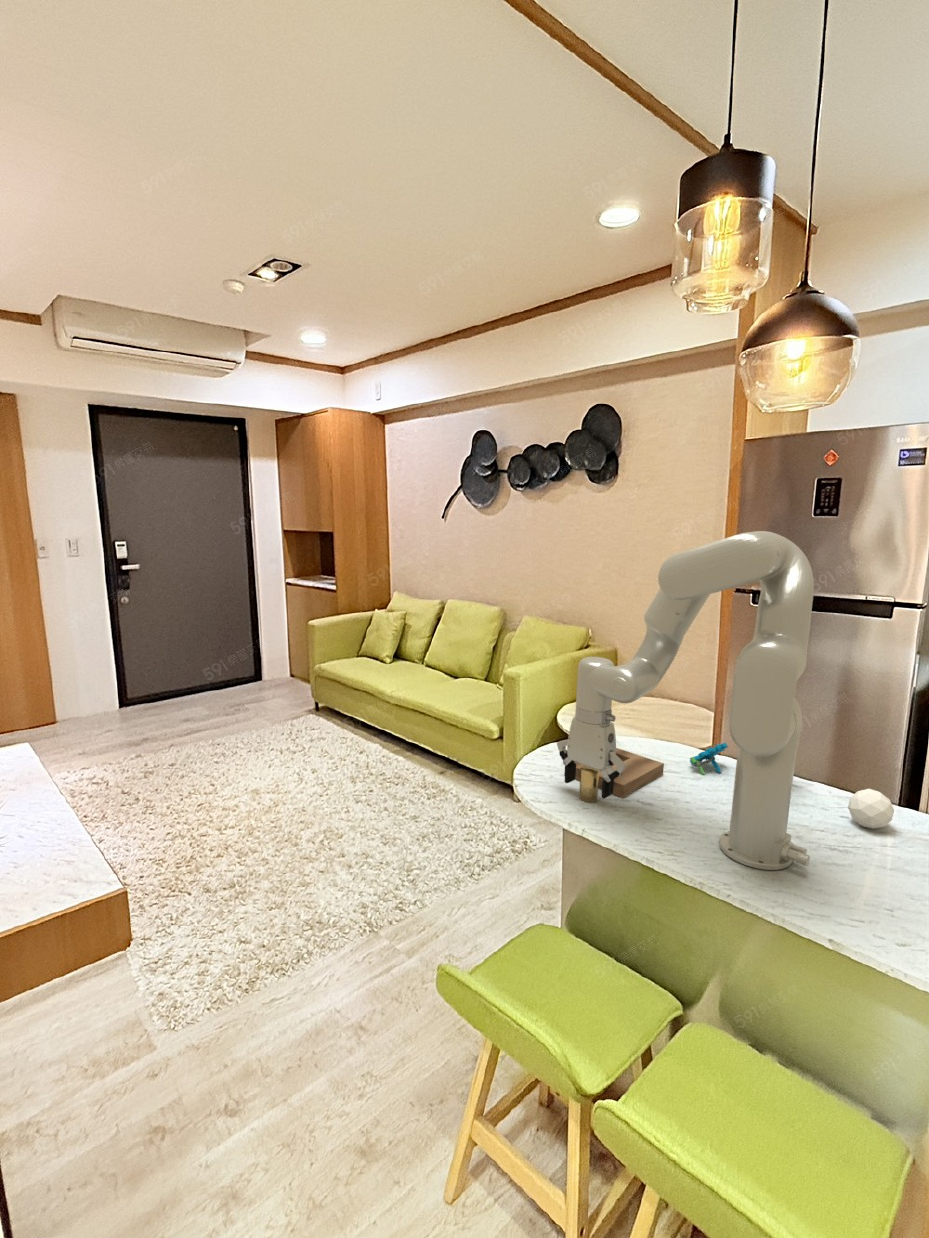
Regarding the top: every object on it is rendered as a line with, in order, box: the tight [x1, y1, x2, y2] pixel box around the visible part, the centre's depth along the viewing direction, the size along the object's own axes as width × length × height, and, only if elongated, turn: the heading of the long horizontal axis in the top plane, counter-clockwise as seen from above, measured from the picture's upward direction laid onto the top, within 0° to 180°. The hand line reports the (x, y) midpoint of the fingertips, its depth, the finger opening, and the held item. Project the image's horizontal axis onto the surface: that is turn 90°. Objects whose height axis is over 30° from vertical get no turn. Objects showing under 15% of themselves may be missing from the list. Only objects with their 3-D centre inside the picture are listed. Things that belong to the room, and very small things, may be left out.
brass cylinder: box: [578, 765, 599, 804], centre depth 137 cm, size 4×4×7 cm
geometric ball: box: [847, 788, 895, 830], centre depth 128 cm, size 8×8×8 cm
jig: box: [564, 747, 665, 799], centre depth 150 cm, size 16×18×3 cm
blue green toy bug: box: [689, 742, 729, 776], centre depth 154 cm, size 11×6×10 cm
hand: (587, 788), depth 138 cm, fingers open, 9 cm apart
